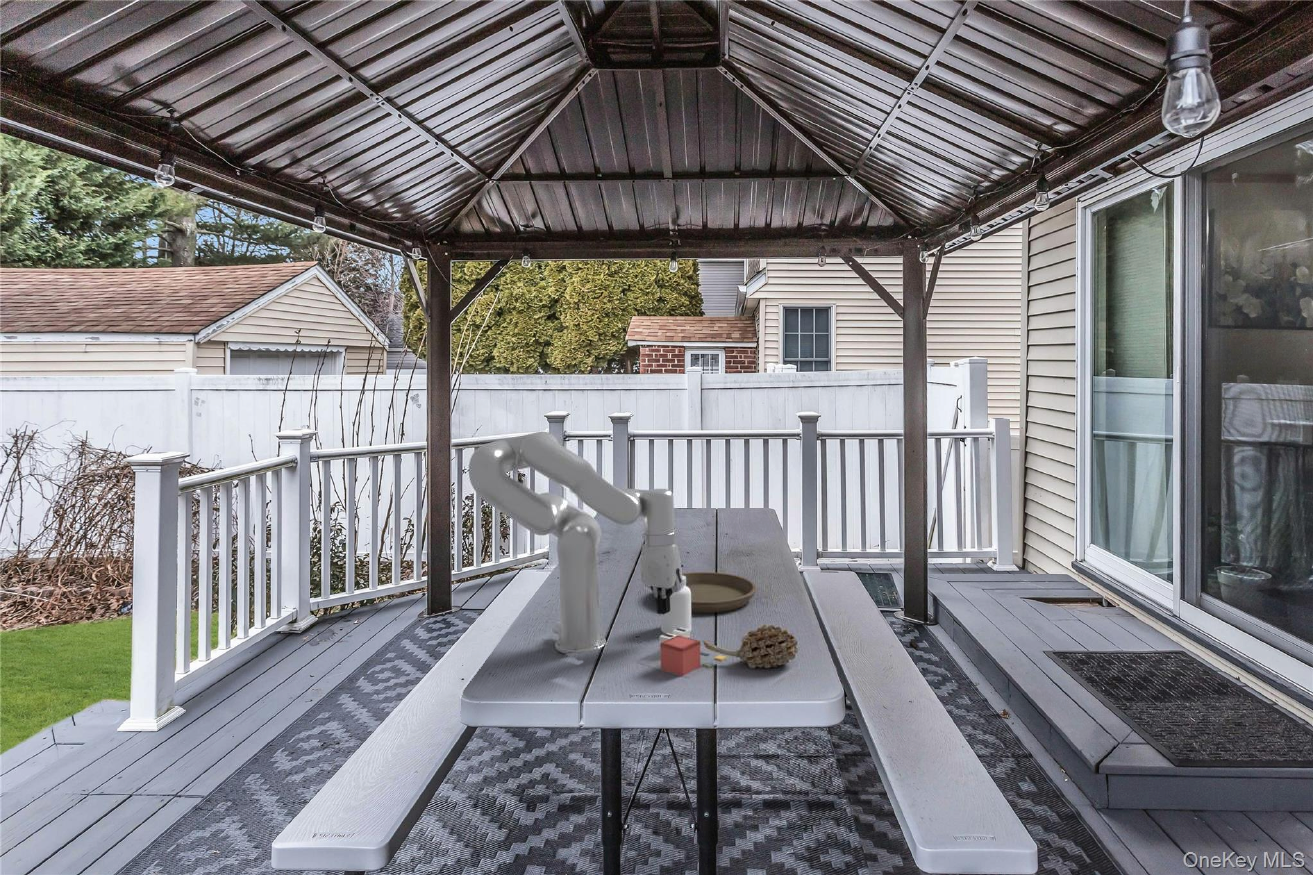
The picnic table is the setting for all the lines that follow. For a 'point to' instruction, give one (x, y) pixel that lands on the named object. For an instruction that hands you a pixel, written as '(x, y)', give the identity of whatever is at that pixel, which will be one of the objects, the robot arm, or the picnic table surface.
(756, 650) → the pine cone
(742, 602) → the plant saucer
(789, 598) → the picnic table surface
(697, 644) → the cap
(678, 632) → the breaker toggle
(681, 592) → the pill bottle
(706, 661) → the breaker panel
